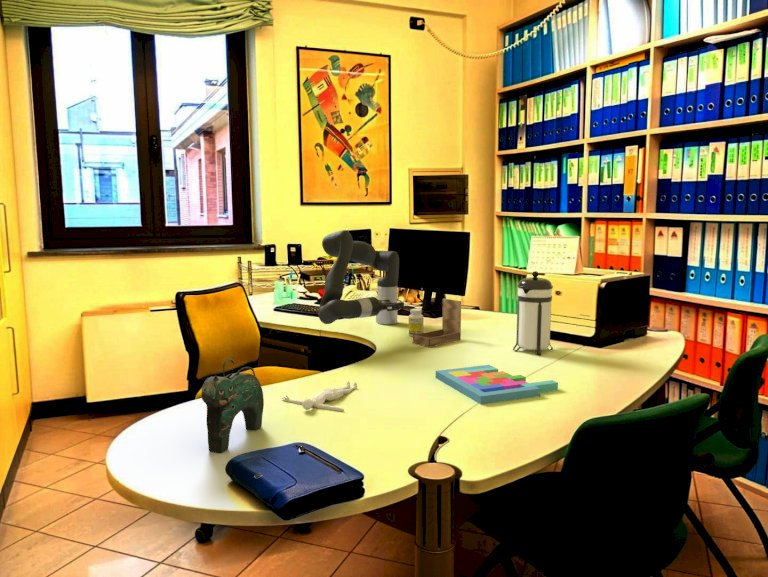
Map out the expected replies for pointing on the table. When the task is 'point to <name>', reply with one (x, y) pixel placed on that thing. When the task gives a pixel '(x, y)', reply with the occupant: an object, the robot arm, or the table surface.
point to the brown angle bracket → (444, 326)
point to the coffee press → (534, 314)
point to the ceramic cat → (231, 405)
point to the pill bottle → (415, 322)
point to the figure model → (324, 398)
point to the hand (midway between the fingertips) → (396, 303)
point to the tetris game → (492, 384)
